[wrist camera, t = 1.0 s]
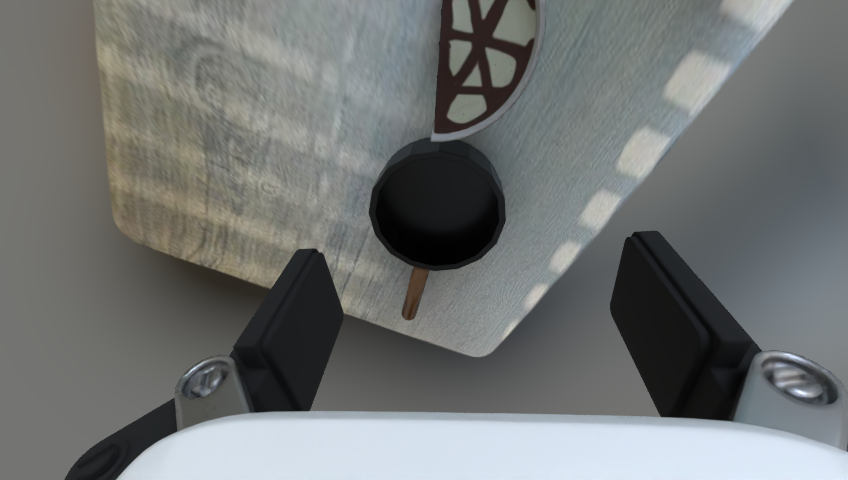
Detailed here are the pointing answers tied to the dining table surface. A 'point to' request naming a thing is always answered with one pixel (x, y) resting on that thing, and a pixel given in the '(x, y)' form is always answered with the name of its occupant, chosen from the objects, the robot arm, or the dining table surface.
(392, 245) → the pan
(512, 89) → the food container
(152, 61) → the dining table surface
